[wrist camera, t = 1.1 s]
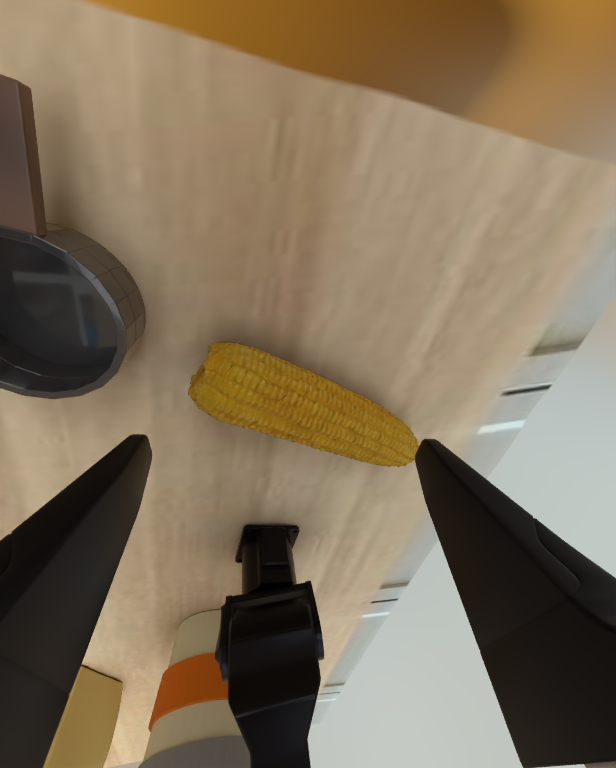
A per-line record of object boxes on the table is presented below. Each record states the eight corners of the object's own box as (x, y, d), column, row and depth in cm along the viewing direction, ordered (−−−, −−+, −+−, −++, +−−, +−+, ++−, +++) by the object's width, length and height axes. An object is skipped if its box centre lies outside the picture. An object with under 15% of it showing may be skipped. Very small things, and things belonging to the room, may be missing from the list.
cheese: (13, 687, 42) (-45, 807, 34) (85, 661, 42) (45, 775, 34) (65, 703, 48) (27, 810, 39) (129, 681, 48) (104, 783, 39)
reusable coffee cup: (268, 624, 47) (277, 780, 34) (197, 653, 47) (179, 817, 34) (227, 592, 40) (219, 772, 27) (144, 627, 41) (98, 818, 28)
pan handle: (48, 237, 15) (38, 238, 14) (4, 226, 14) (-9, 227, 14) (32, 88, 12) (18, 80, 12) (-23, 68, 12) (-41, 59, 11)
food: (189, 380, 24) (174, 427, 18) (216, 317, 21) (207, 351, 16) (389, 450, 32) (416, 496, 27) (422, 409, 30) (459, 451, 24)
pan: (144, 377, 23) (126, 407, 19) (-11, 356, 20) (-63, 386, 17) (147, 247, 19) (126, 256, 15) (-48, 197, 16) (-127, 195, 12)
